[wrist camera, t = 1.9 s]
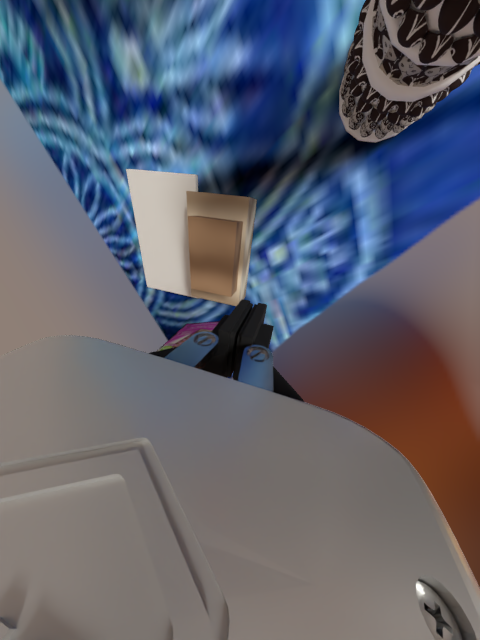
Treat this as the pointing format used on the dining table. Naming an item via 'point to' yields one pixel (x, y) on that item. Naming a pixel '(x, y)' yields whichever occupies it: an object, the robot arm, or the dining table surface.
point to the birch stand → (229, 210)
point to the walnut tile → (214, 254)
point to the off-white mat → (163, 227)
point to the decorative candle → (406, 62)
